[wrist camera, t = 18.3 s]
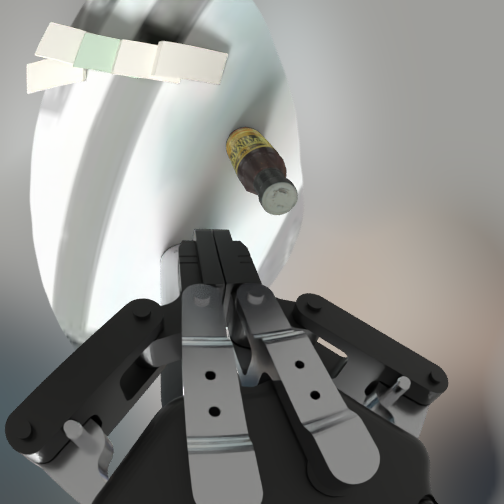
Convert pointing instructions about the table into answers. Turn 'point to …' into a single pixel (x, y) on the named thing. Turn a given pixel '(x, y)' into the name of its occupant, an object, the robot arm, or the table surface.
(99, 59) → the domino
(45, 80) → the domino
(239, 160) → the sauce bottle
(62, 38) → the domino
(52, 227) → the table surface
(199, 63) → the domino
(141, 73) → the domino
